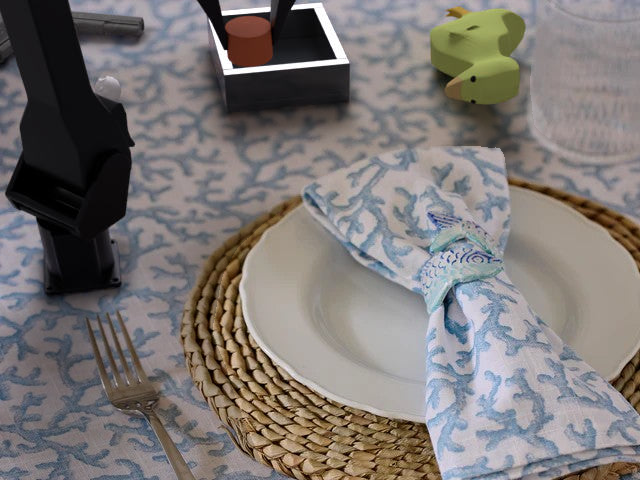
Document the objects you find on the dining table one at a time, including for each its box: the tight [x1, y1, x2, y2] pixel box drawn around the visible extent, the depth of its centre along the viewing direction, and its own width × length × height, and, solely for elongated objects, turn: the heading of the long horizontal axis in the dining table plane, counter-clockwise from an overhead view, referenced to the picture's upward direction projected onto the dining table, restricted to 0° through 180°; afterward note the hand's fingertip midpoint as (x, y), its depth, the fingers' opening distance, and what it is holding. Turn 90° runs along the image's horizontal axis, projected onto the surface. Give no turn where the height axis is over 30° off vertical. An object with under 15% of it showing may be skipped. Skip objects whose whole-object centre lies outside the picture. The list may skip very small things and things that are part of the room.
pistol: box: [0, 10, 145, 64], centre depth 119 cm, size 2×18×12 cm
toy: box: [429, 6, 527, 105], centre depth 114 cm, size 6×17×20 cm
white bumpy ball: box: [94, 74, 122, 102], centre depth 110 cm, size 3×3×3 cm
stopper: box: [225, 16, 273, 67], centre depth 97 cm, size 4×4×3 cm
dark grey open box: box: [205, 2, 351, 114], centre depth 114 cm, size 15×14×4 cm
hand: (249, 45), depth 98 cm, fingers closed on stopper, 4 cm apart
